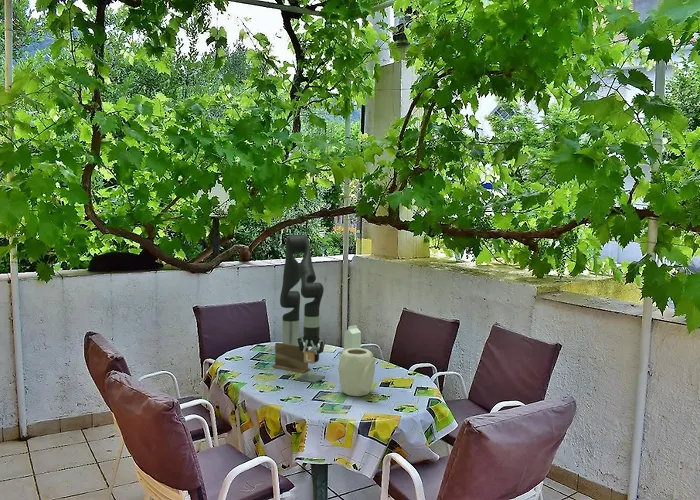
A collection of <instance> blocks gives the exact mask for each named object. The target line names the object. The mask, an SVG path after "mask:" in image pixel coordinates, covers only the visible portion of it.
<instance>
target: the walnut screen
mask: <svg viewBox="0 0 700 500" xmlns="http://www.w3.org/2000/svg"><path fill="white" fill-rule="evenodd" d="M274 351H275V352H274V364H273V365H272V369H278V370H283V371H289V372H295V373H301V374H305V373H308V372H309V371H311V368H310V367H309V363H304V359H303V351H300V350H299V346H297V345H290V344H283V343H282V342H275V345H274Z"/></svg>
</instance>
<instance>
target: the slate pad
mask: <svg viewBox="0 0 700 500" xmlns="http://www.w3.org/2000/svg"><path fill="white" fill-rule="evenodd" d="M325 378H326V375H322V374H317V373H311V372H310V373H309V372H306V373H303V374H301V375H300V376H298V377H297V378H295V380H296V381H299V382H303V383H311V384H317V383H319V382H320V381H322V380H323V379H325Z"/></svg>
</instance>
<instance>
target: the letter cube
mask: <svg viewBox="0 0 700 500" xmlns="http://www.w3.org/2000/svg"><path fill="white" fill-rule="evenodd" d="M304 363H308V364H312V365H314V364H315V363H316V364H317V362H315V352H314V350H313V349H308V350H307V351H305V352H304Z"/></svg>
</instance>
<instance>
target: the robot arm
mask: <svg viewBox="0 0 700 500" xmlns="http://www.w3.org/2000/svg"><path fill="white" fill-rule="evenodd" d="M285 240H286V241H285V261H284V267H283V275H282V276H283V277H282V286H281V291H280V296H279V304H280V307H281V308H283V309H292V310H290V311H288V312H286V313H283V315H282V321H281V322H282V325H281V326H282V330H281V331H282V334H281V335H282V338H281V343H283V344H290V345H297V346H299V350H300V351H303V359H304V352H305V351H307V350H309V348H312V350H314V352H315V362H316V363H318V362H319V361H320V354H321V353H323V352H324V348H325V345H326V340H322V339H320V331H321V330H320V328H321V327H320V326H321V319H320V306H321V302H322V298H323V296H324V291H325V290H324V285H323V283H321V282H316V279H317V277H316V272H315V270H314V267H313V261H312V253H311V252H312V251H311V246H310V240H309V237H308V236H307V235H306V234H292V235H288V236H287V237H286V239H285ZM295 254H303V257H302V259H301V261H300V263H299V262H298V260H297V259H296V258H295V256H294V255H295ZM300 281H301V283H300V284H301V285H300V292H299V290H292V289H294V287H295V286H296V285H298V284H299V282H300ZM301 296H302V297H303V298H304V299H313V300H312V301H310V302H307V303H305V304H304V307H303V309H304V312H303V336H301V337H300V335H301V334H300V310H301V309H300V308H301V307H300V306H301Z"/></svg>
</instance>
